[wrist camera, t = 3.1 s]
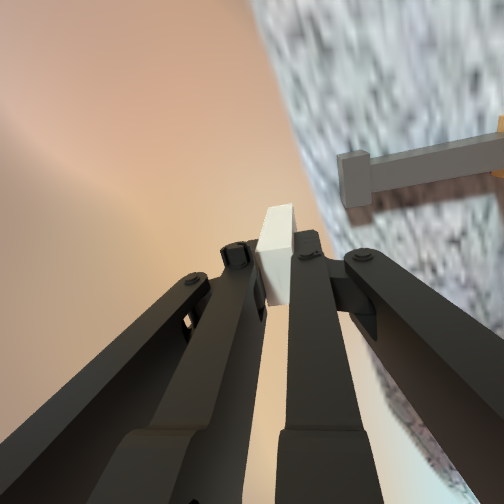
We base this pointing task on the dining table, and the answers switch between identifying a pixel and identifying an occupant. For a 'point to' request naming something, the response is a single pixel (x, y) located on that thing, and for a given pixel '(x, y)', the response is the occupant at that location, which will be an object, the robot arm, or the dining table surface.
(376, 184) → the plug
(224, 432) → the robot arm
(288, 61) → the dining table surface
